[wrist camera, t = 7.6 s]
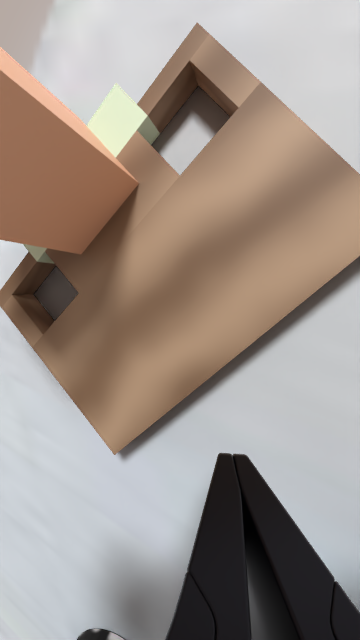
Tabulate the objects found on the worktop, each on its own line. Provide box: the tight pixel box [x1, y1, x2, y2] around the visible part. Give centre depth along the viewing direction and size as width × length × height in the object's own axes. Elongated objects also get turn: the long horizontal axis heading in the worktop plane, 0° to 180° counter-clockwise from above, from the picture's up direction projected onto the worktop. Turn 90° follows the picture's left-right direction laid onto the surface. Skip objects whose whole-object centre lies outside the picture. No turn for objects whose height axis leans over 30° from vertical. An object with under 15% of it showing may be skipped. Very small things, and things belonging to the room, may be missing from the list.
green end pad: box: [23, 83, 160, 264], centre depth 19 cm, size 3×12×2 cm, turn 133°
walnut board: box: [0, 23, 360, 455], centre depth 18 cm, size 15×22×2 cm
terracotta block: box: [0, 47, 139, 254], centre depth 13 cm, size 6×6×10 cm
